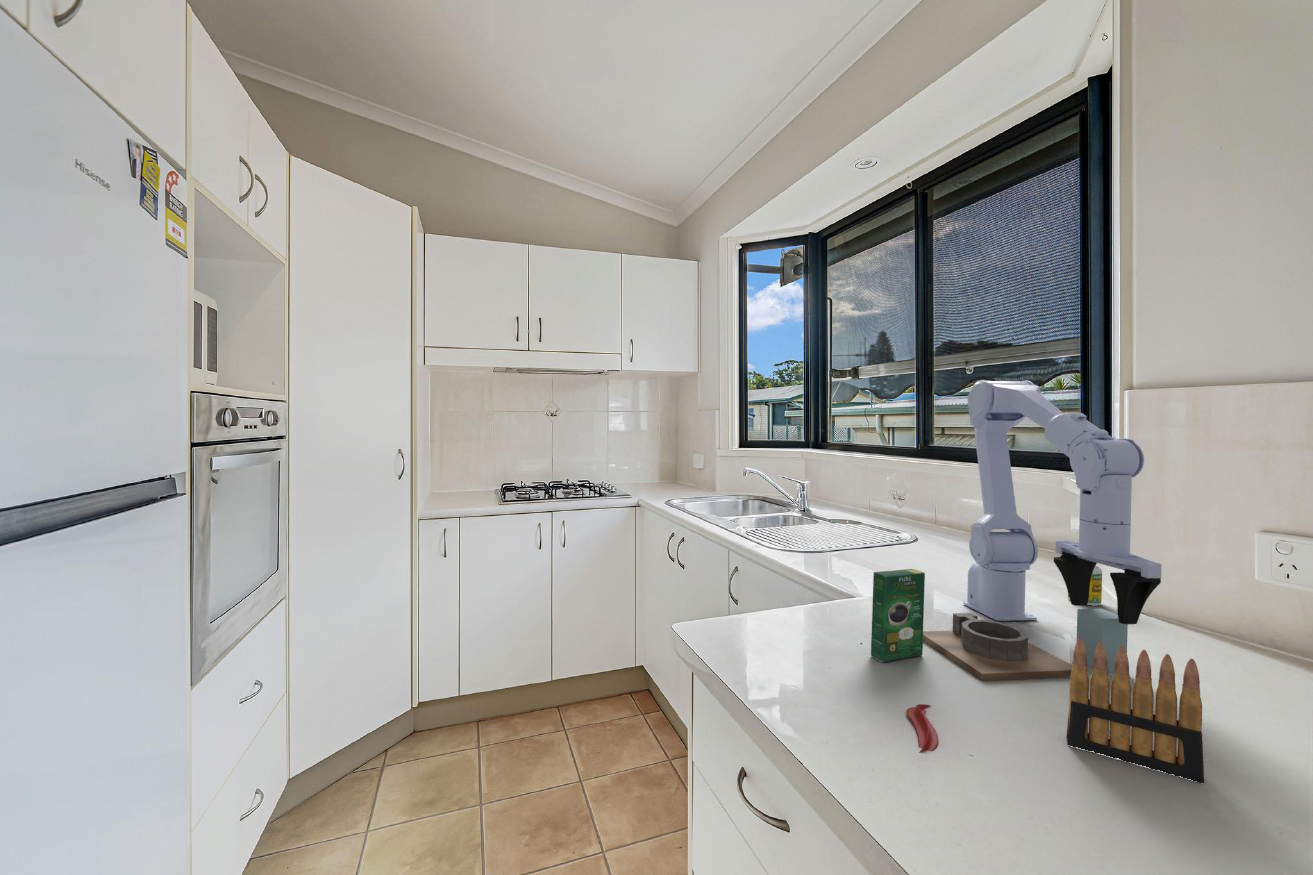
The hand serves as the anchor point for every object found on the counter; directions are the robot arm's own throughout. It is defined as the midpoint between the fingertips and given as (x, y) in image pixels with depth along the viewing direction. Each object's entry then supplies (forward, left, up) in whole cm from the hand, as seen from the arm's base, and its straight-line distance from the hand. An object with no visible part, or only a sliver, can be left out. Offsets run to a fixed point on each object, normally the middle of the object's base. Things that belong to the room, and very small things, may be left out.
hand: (1102, 613), depth 77 cm
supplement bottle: (-27, +24, -8) cm, 37 cm away
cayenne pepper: (+12, -35, -9) cm, 39 cm away
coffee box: (-6, -28, -8) cm, 30 cm away
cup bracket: (-5, -13, -8) cm, 16 cm away
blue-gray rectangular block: (0, 0, -8) cm, 8 cm away
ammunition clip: (+20, -17, -8) cm, 27 cm away
